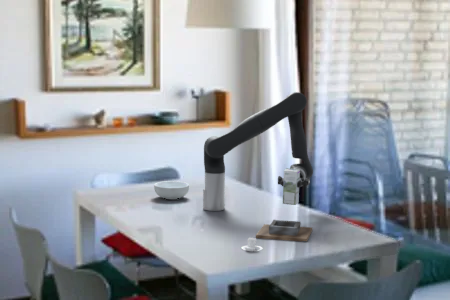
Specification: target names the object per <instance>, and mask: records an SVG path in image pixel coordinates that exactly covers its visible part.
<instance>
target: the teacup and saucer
mask: <svg viewBox="0 0 450 300" xmlns="http://www.w3.org/2000/svg"><path fill="white" fill-rule="evenodd" d="M256 244H257V238H256V237H248V238H247V245H243V246H241V249H242V251H246V252H260V251H262V250H263V249H264V248H263V247H262V246H260V245H256ZM256 247H257V248H259V249H257V250H256Z"/></svg>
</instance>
